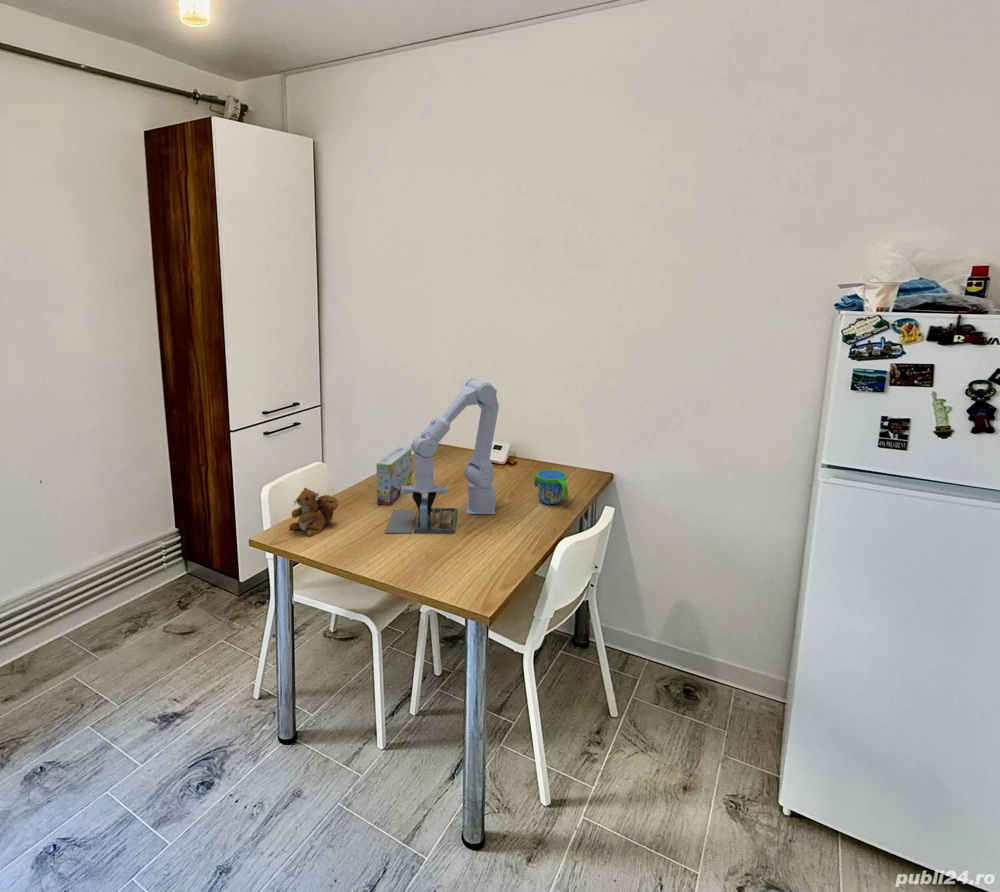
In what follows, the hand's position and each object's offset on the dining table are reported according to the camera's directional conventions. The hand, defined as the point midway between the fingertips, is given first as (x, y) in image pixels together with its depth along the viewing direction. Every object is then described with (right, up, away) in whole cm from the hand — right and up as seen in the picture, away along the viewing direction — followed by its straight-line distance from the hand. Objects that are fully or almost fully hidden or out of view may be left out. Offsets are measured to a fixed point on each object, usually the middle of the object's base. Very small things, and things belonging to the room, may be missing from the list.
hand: (425, 514), depth 189 cm
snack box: (-14, +4, +24) cm, 27 cm away
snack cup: (+42, +2, +19) cm, 46 cm away
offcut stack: (+7, -3, +1) cm, 8 cm away
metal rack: (+4, -3, +1) cm, 4 cm away
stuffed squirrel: (-34, -4, -4) cm, 34 cm away
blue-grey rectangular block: (0, -2, +1) cm, 2 cm away
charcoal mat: (-8, -2, +1) cm, 8 cm away
